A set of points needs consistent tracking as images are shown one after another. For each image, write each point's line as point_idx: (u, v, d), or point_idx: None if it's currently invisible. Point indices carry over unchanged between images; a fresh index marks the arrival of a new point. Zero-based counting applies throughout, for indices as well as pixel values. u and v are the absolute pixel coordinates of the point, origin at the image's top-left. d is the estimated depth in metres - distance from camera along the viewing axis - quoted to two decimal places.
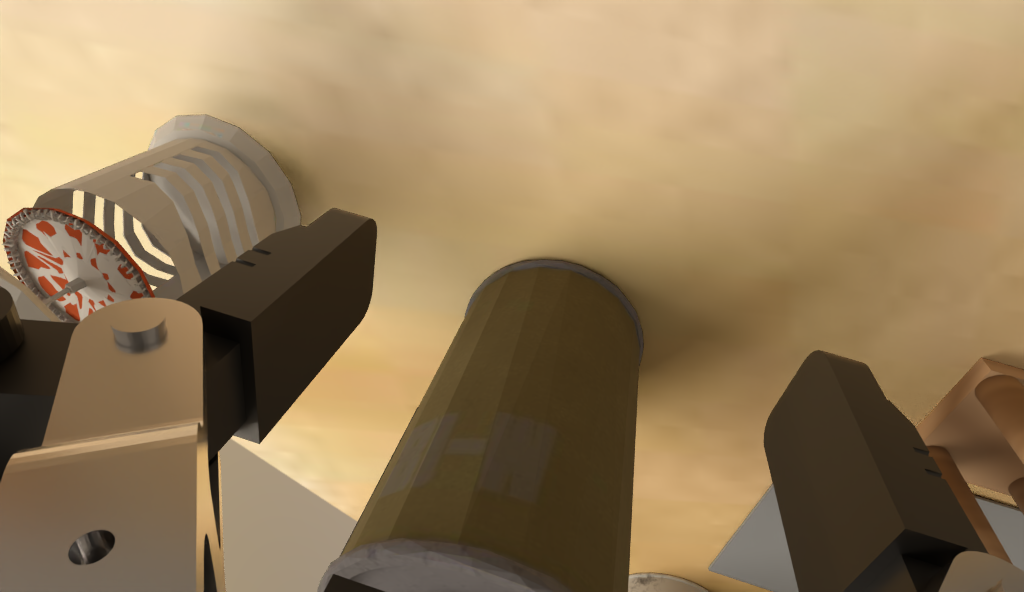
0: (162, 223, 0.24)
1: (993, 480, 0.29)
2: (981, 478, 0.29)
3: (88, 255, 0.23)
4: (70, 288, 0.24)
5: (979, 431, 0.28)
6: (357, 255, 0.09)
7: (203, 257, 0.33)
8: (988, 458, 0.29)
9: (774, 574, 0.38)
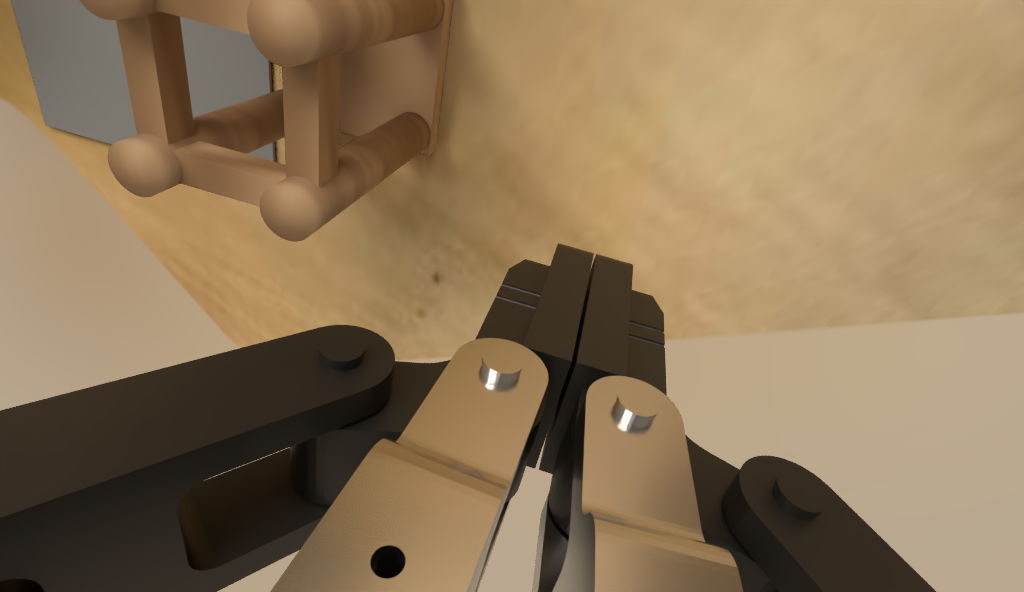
0: None
1: None
2: None
3: None
4: None
5: None
6: None
7: None
8: None
9: None
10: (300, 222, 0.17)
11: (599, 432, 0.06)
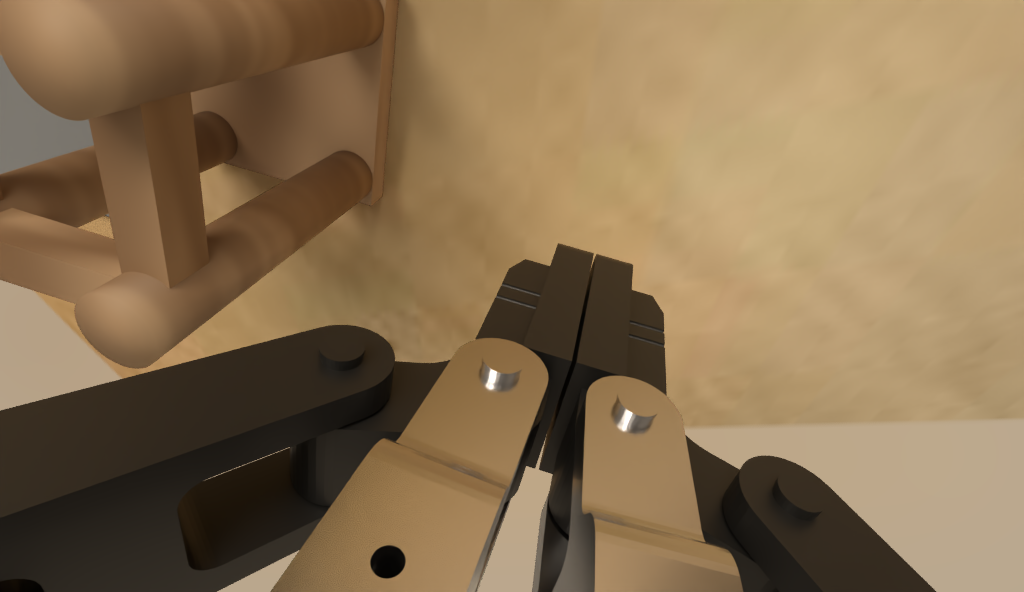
0: None
1: None
2: None
3: None
4: None
5: None
6: None
7: None
8: None
9: None
10: (137, 344, 0.11)
11: (599, 432, 0.06)
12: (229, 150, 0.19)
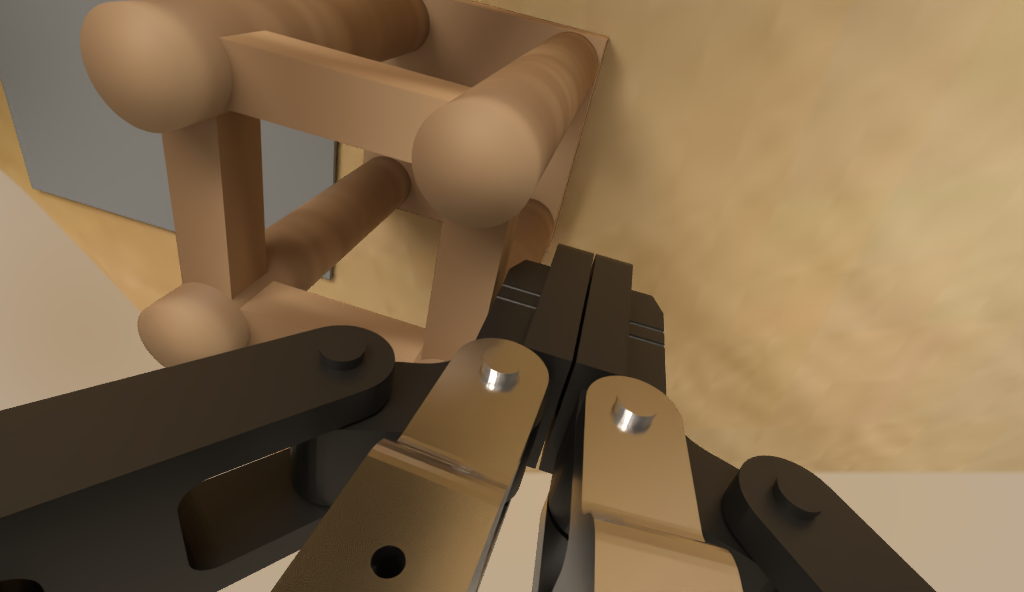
0: None
1: None
2: None
3: None
4: None
5: (476, 74, 0.17)
6: None
7: None
8: None
9: None
10: None
11: (599, 432, 0.06)
12: (405, 196, 0.19)
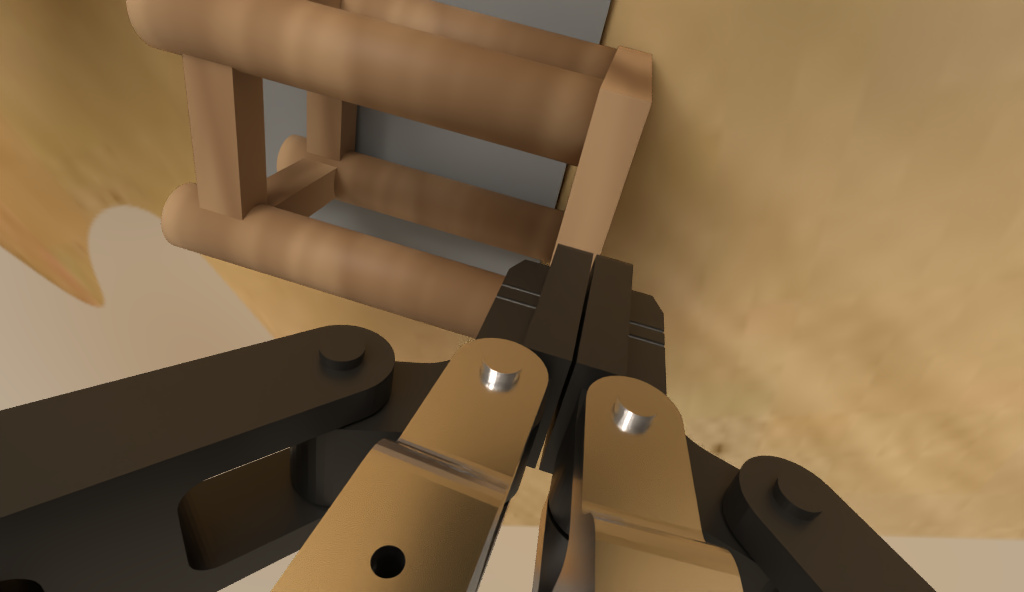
0: None
1: None
2: None
3: None
4: None
5: None
6: None
7: None
8: None
9: None
10: None
11: (599, 432, 0.06)
12: (544, 249, 0.18)
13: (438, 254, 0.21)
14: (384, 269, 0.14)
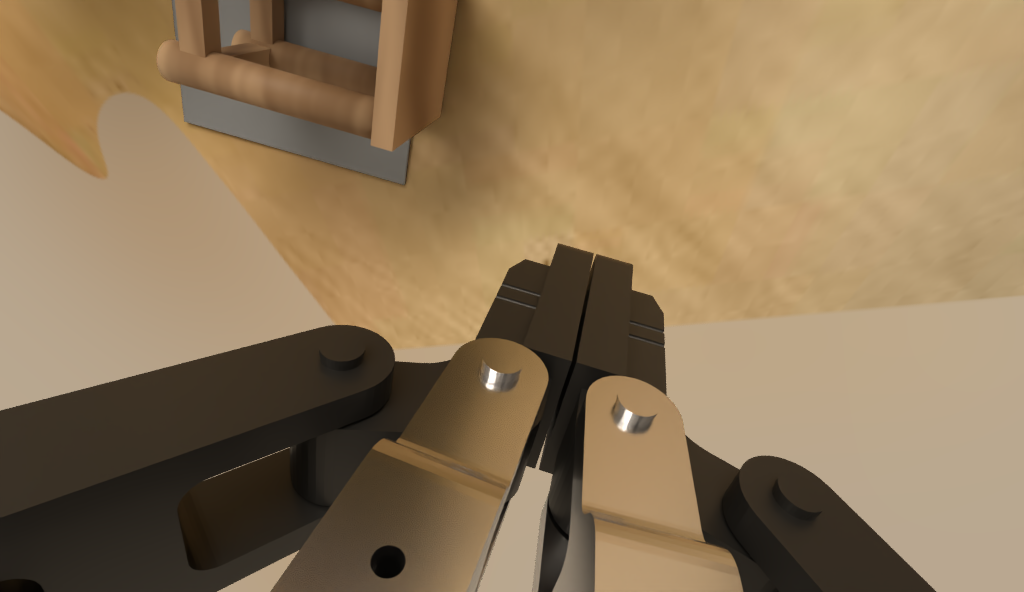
0: None
1: None
2: None
3: None
4: None
5: None
6: None
7: None
8: None
9: None
10: None
11: (599, 432, 0.06)
12: None
13: None
14: (289, 85, 0.24)
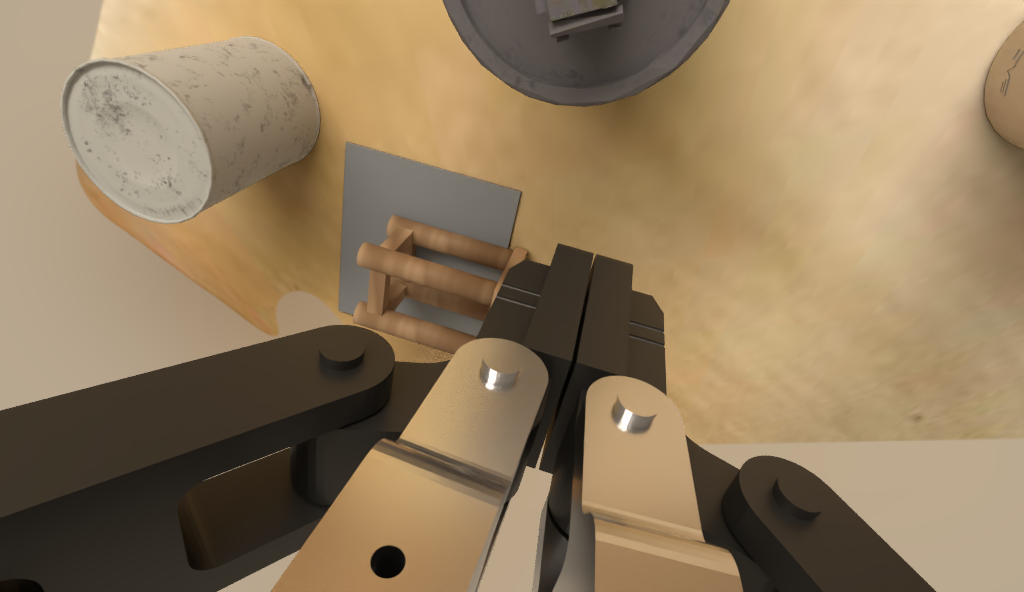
0: None
1: None
2: None
3: None
4: None
5: None
6: None
7: None
8: None
9: (365, 195, 0.44)
10: None
11: (599, 432, 0.06)
12: None
13: (446, 317, 0.48)
14: (430, 333, 0.41)
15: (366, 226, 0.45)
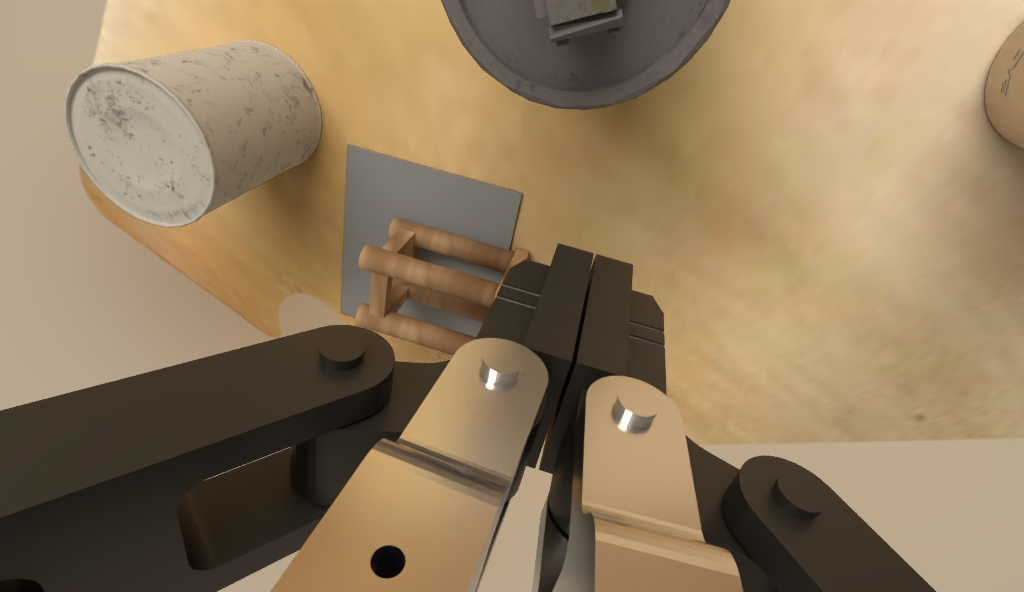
0: None
1: None
2: None
3: None
4: None
5: None
6: None
7: None
8: None
9: (366, 198, 0.44)
10: None
11: (599, 432, 0.06)
12: None
13: (448, 318, 0.48)
14: (432, 335, 0.41)
15: (368, 228, 0.45)
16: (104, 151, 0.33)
